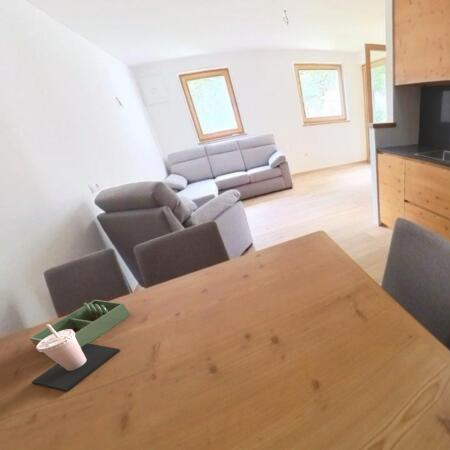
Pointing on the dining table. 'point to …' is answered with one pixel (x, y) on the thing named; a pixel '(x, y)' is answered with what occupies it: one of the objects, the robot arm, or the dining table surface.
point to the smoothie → (63, 348)
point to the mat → (68, 379)
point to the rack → (81, 321)
